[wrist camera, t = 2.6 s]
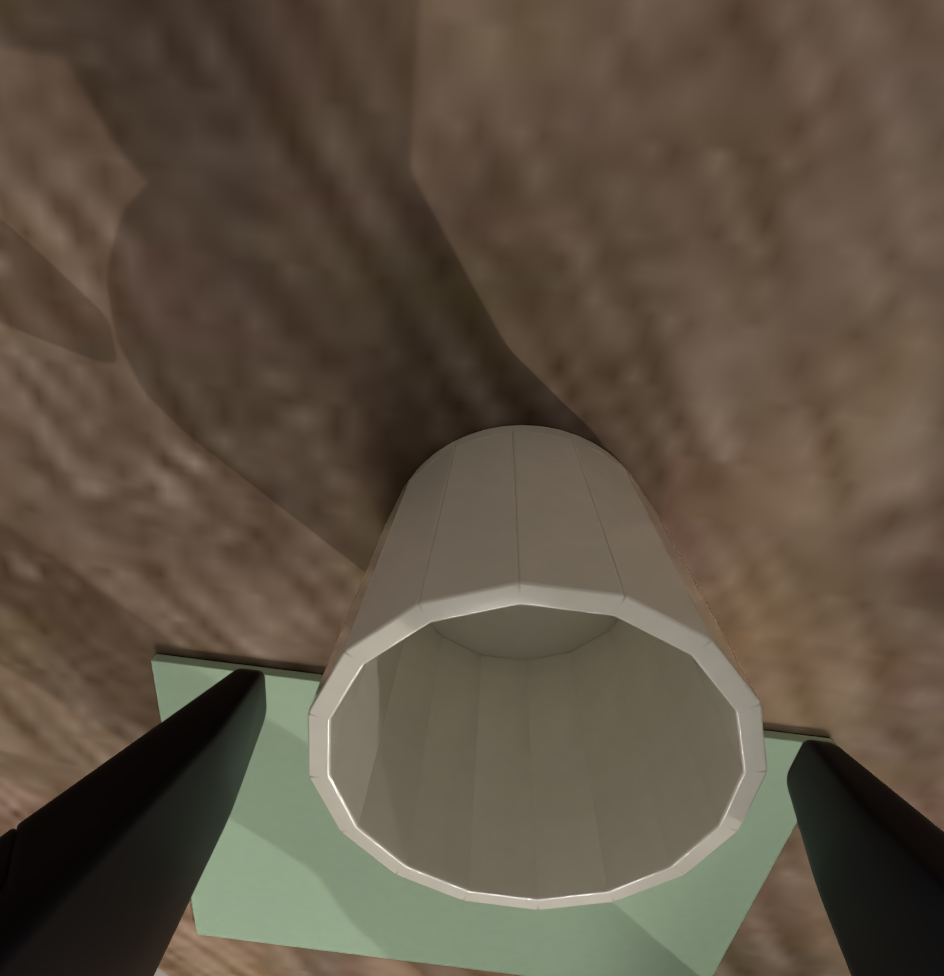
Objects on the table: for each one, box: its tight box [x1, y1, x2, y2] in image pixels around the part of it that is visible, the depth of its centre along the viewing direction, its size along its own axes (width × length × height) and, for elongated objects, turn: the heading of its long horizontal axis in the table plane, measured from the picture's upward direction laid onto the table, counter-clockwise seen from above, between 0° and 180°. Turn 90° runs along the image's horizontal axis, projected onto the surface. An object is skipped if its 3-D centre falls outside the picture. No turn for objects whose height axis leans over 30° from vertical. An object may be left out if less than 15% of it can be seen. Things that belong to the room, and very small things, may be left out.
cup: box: [308, 425, 767, 910], centre depth 11 cm, size 7×7×6 cm
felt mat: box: [151, 654, 837, 976], centre depth 19 cm, size 14×20×1 cm
